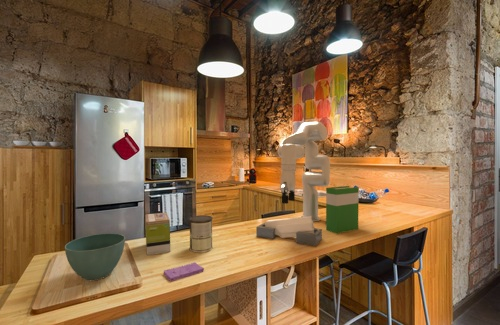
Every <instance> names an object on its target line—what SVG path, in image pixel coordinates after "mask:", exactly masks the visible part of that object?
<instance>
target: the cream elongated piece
mask: <svg viewBox="0 0 500 325" xmlns="http://www.w3.org/2000/svg"><path fill="white" fill-rule="evenodd" d="M264 223H265V227H270V228H275V236H278V237H279V238H283V239H285V238H296V233H297V232H305V233H312V234H314V228H315V224H314V222H313V221H312V218H311V216H310V217H302V216H300V217H288V218H287V217H286V218H279V219H278V218H277V219H268V220H265V221H264Z"/></svg>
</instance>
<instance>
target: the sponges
mask: <svg viewBox="0 0 500 325" xmlns="http://www.w3.org/2000/svg"><path fill="white" fill-rule="evenodd" d="M204 271H205V268H204V267H203V266H202V265H199V264H198V263H197V262H192V263H188V264H185V265H181V266H177V267H173V268H168V269H164V270H163V275H164V276H165V277H166V278H167V279H168V281H170V282H173V281H177V280H180V279H183V278H187V277H190V276H194V275H196V274H199V273H202V272H204Z"/></svg>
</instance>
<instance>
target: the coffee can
mask: <svg viewBox="0 0 500 325" xmlns="http://www.w3.org/2000/svg"><path fill="white" fill-rule="evenodd" d="M189 246H190V247H189V251H191V252H193V253H199V254H200V253H206V252H209V251H211V250H212V249H213V216H211V215H205V214H203V215H202V214H200V215H194V216H191V217H189Z"/></svg>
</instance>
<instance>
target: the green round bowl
mask: <svg viewBox="0 0 500 325" xmlns="http://www.w3.org/2000/svg"><path fill="white" fill-rule="evenodd" d="M125 243H126V236H125V235H123V234H121V233H115V232H113V233H112V232H110V233H105V232H104V233H96V234H91V235H86V236H82V237H79V238H76V239H72V240H71V241H69V242H67V243H66V244H65V245H64V251H65V256H66V257H65V258H66V259H67V262H68V264H69V265H70V267H71V269H72V271H74V272H75V273H76V275H77V276H79V277H80V278H81V279H83V280H84V281H90V280H91V281H98V280H101V278H102V279H104V278H106V277H108V276H109V275H111V273H112V272H113V271H114V269H115V268H116V266H117V265H118V264H119V262H120V260H121V257H122V255H123V252H124V248H125V245H126V244H125ZM103 277H104V278H103ZM97 279H98V280H97Z"/></svg>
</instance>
